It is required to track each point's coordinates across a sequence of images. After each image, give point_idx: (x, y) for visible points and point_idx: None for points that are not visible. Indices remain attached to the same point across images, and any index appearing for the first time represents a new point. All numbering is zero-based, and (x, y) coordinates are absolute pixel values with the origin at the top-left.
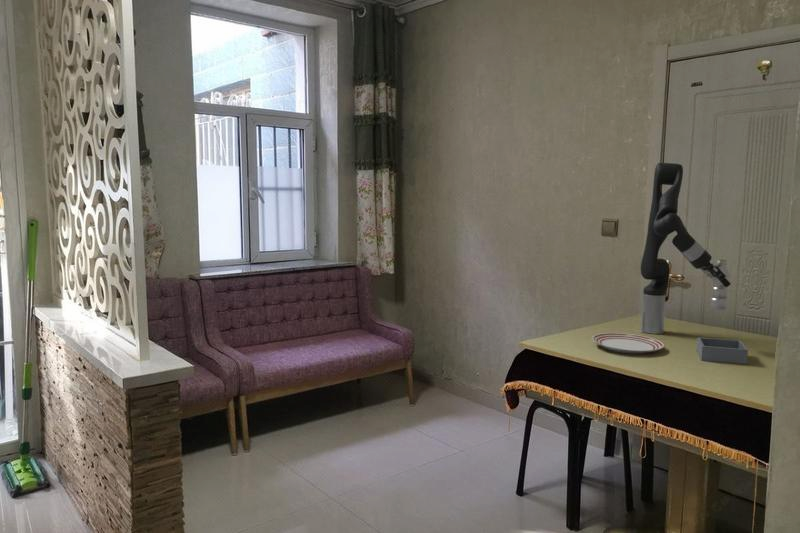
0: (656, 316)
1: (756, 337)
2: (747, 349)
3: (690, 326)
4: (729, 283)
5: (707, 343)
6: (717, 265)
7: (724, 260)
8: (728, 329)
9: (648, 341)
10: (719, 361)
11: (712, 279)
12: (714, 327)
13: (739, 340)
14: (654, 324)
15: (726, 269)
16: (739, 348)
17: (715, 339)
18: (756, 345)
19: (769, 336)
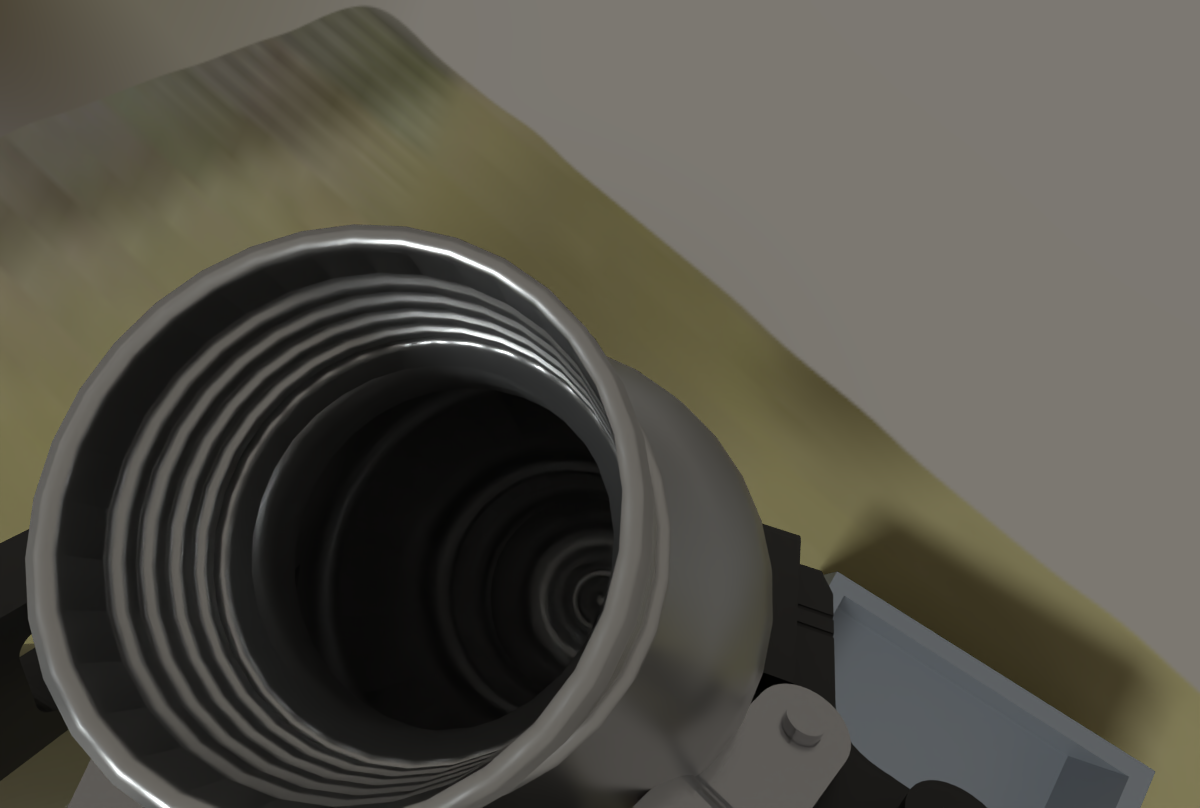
0: (18, 794)
1: (465, 161)
2: (1140, 764)
3: (92, 332)
4: (825, 582)
5: None
6: (385, 739)
7: (313, 262)
8: (253, 172)
9: None
10: None
11: (435, 721)
12: (180, 212)
13: (834, 577)
14: (76, 788)
15: (712, 526)
16: (885, 630)
17: None
18: (628, 297)
19: (469, 83)
